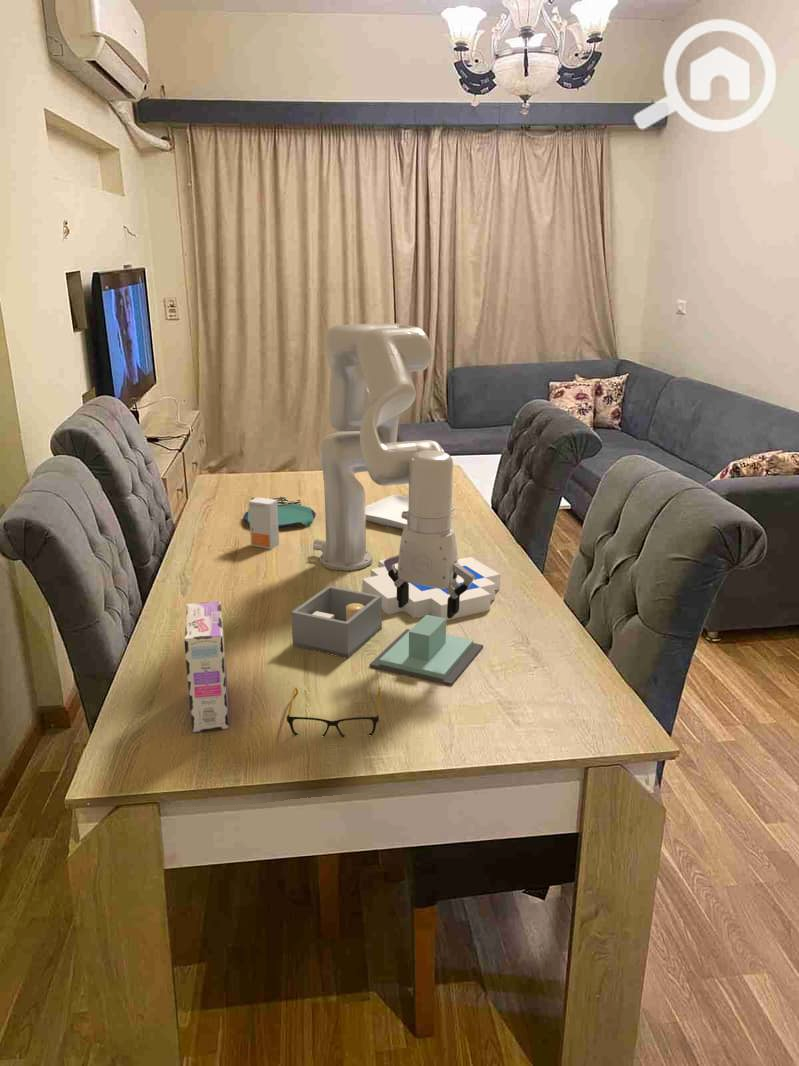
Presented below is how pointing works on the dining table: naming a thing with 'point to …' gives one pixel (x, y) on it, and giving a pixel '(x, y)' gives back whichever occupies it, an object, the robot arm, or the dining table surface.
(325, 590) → the storage box
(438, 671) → the lid
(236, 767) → the dining table surface
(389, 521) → the salad plate
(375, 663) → the mat
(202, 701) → the candy box
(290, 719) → the eyeglasses
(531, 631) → the dining table surface
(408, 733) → the dining table surface
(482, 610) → the pixel art tile
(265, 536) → the skincare box
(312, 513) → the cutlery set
